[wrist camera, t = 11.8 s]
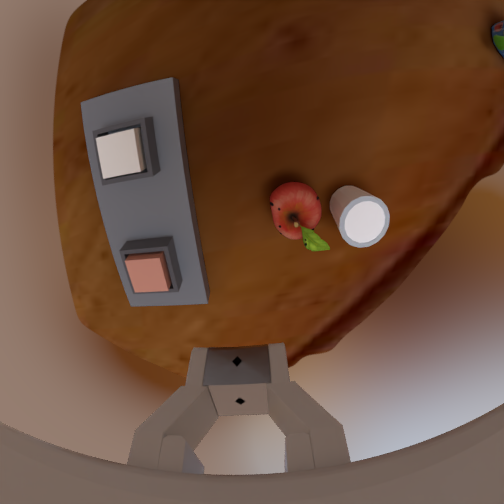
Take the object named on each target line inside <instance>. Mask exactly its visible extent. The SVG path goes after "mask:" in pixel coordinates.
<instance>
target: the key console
mask: <svg viewBox="0 0 504 504" xmlns="http://www.w3.org/2000/svg"><path fill="white" fill-rule="evenodd" d="M81 110H82V118H83V125H84V132H85V138H86V144H87V150H88V156H89V161H90V166H91V171H92V176H93V181H94V186H95V190H96V194H97V199H98V203H99V207H100V211H101V215H102V218H103V222H104V226H105V229H106V233H107V236H108V240H109V243H110V247H111V250H112V253H113V256H114V260H115V263H116V266H117V269H118V272H119V275H120V278H121V281H122V283H123V286H124V289H125V292H126V295H127V297H128V300H129V303H130V305H131V306H164V305H189V304H208V300H209V294H210V290H209V285H208V280H207V274H206V269H205V264H204V258H203V253H202V247H201V242H200V236H199V230H198V224H197V218H196V212H195V206H194V199H193V193H192V186H191V179H190V172H189V165H188V158H187V151H186V143H185V135H184V127H183V119H182V110H181V101H180V92H179V82H178V79H175V78H173V77H172V78H167V79H162V80H157V81H153V82H149V83H145V84H140V85H137V86H133V87H129V88H125V89H122V90H118V91H115V92H111V93H108V94H105V95H102V96H99V97H96V98H93V99H90V100H87V101H84V102H81ZM139 127H141V133H142V140H143V147H144V153H145V159H146V165H147V168H146V169H144V170H142V171H141V172H136V173H130V174H125V175H120V176H115V177H110V178H105V179H103V175H102V170H101V165H100V160H99V154H98V148H97V142H96V138H98V137H102V136H106V135H109V134H113V133H117V132H121V131H125V130H130V129H134V128H139ZM157 251H164V253H165V257H166V261H167V265H168V269H169V273H170V277H171V281H172V283H171V286H170V288H169V291H158V292H135V291H134V288H133V285H132V282H131V279H130V276H129V273H128V270H127V267H126V263H125V260H126V258H127V257H128V255H129V254H134V253H146V252H157Z"/></svg>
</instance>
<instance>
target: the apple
mask: <svg viewBox="0 0 504 504" xmlns="http://www.w3.org/2000/svg"><path fill="white" fill-rule="evenodd" d="M270 205H271V210H272V216H273V221H274V224H275V227H276V228H277V229H278V231H279V232H280V234H283V235H284V236H285V237H287V238H289V239H301V238H303V242H304V245H305V247H306V248H307V249H308V250H309V249H310V250H311V251H321V250H330V248H329V245H328V244H327V243H326V242H325V241H324V240H321V238H320V237H319V236H318V235H317V234H315V233H313V232H314V231H313V230H314V228H315V227H316V225H317V224H318V222H319V220H320V218H321V203H320V200H319V197H318V196H317V194H316V192H315V191H314V190H313V189H312V188H311V187H310V186H308V185H306V184H304V183H300V182H288V183H285V184H282V185H280V186H279V187H277V188H276V189H275V190H274V191H273V192H272V194H271V195H270Z"/></svg>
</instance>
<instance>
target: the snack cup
mask: <svg viewBox="0 0 504 504" xmlns="http://www.w3.org/2000/svg"><path fill="white" fill-rule="evenodd" d="M492 37H493V43H494V45H495V46H496V48H497V50H498V51H499V53H500V54H501V55H502V56H503V58H504V21H501V22H498V23H496V24H494V25H493V26H492Z"/></svg>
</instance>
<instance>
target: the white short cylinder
mask: <svg viewBox="0 0 504 504" xmlns="http://www.w3.org/2000/svg"><path fill="white" fill-rule="evenodd" d="M330 211H331V213H332V215H333V218H334V220H335V222H336V224H337V226H338V228H339V231H340V233H341V235H342V237H343V239H344V240H345V241H346V242H347V243H348V244H350V245H352V246H355V247H358V248H359V247H368V246H370V245H372V244H375V243H377V242H378V241H379V240H380V239H381V238H382V237H383V236H384V235H385V232H386V230H387V228H388V226H389V218H390V215H389V212H388V209H387V206H386V205H385V204H384V203H383V202H382V200H381V199H379V198H377V197H375V196H373V195H371V194H369V193H367V192H365V191H363V190H361V189H359V188H357V187H355V186H352V185H351V186H343V187H341V188H339V189H337V191H336V192H335V193H334V194H333V195H332V197H331V200H330Z"/></svg>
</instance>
